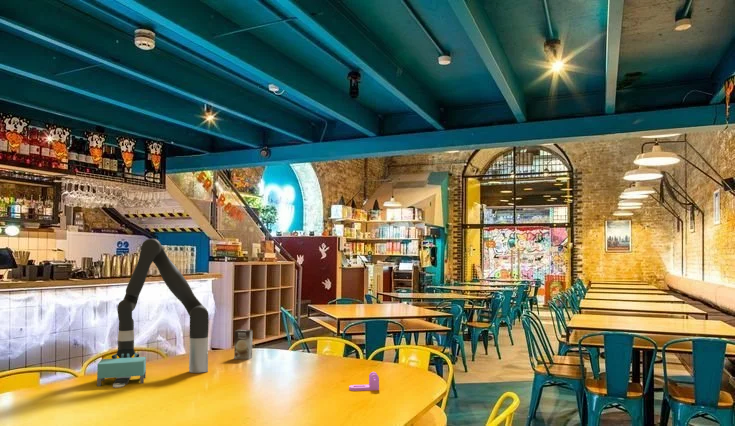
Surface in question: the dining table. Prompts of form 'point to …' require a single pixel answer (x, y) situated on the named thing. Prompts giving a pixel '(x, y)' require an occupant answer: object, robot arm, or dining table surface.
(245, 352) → the coffee box
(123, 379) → the scraper tool
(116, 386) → the steel token
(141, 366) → the teal footstool
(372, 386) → the bracket
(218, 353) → the dining table surface
